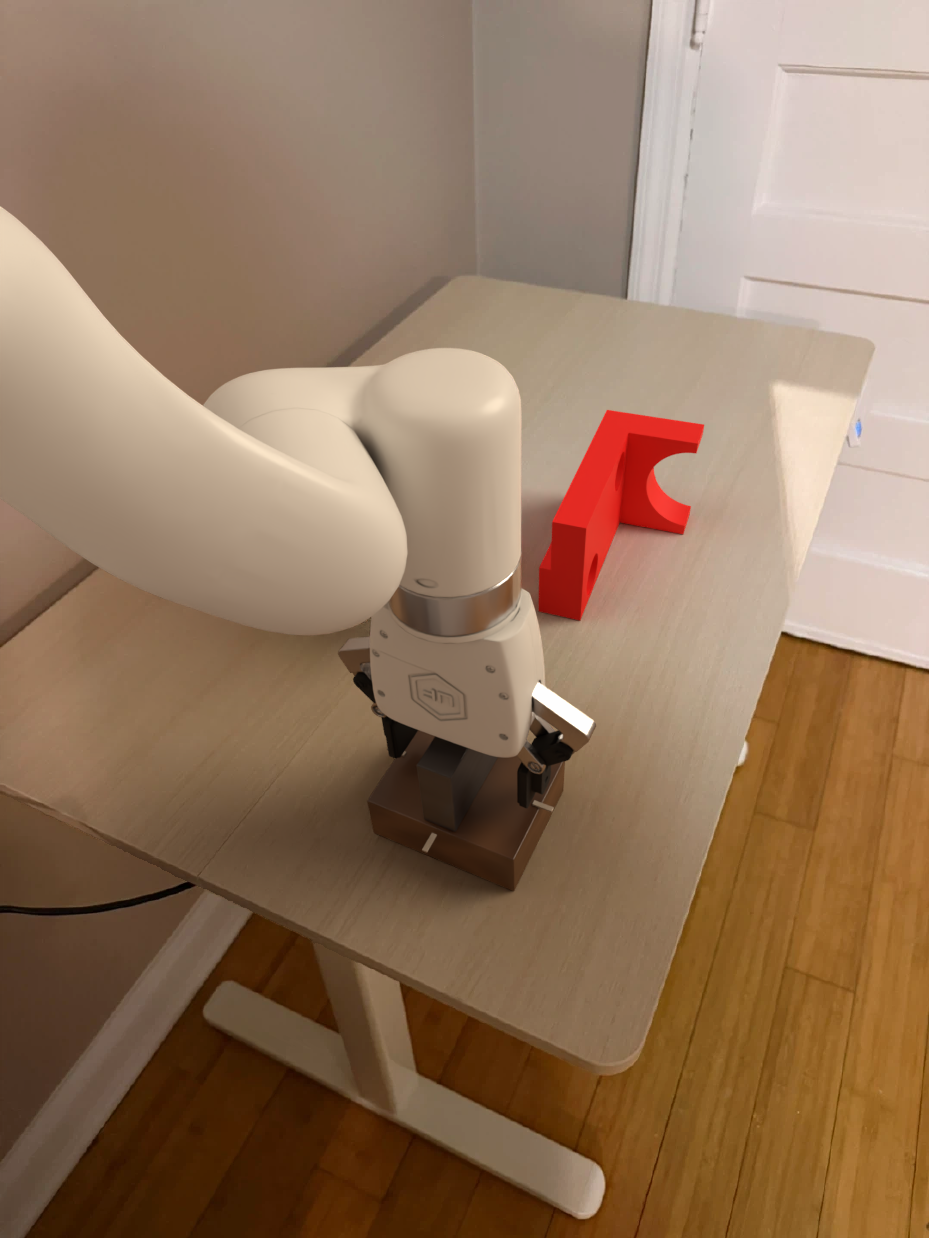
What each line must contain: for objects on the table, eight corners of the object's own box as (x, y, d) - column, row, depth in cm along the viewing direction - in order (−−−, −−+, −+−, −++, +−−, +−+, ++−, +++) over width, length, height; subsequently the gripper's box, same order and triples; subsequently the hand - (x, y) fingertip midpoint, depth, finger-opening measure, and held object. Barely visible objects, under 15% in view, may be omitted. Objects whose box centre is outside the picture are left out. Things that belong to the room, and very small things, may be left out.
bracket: (596, 408, 84) (704, 424, 81) (590, 496, 91) (689, 514, 88) (540, 519, 72) (664, 543, 69) (538, 611, 79) (651, 636, 76)
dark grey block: (455, 832, 59) (450, 775, 54) (423, 819, 59) (415, 762, 55) (508, 739, 64) (507, 681, 60) (478, 728, 65) (475, 670, 60)
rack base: (349, 849, 63) (341, 815, 60) (432, 721, 71) (429, 686, 68) (514, 920, 58) (514, 887, 55) (583, 775, 66) (586, 740, 63)
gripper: (284, 577, 49) (329, 764, 61) (576, 670, 44) (564, 857, 55) (354, 503, 54) (384, 690, 66) (626, 577, 48) (605, 768, 60)
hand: (466, 766), depth 61 cm, fingers open, 9 cm apart
